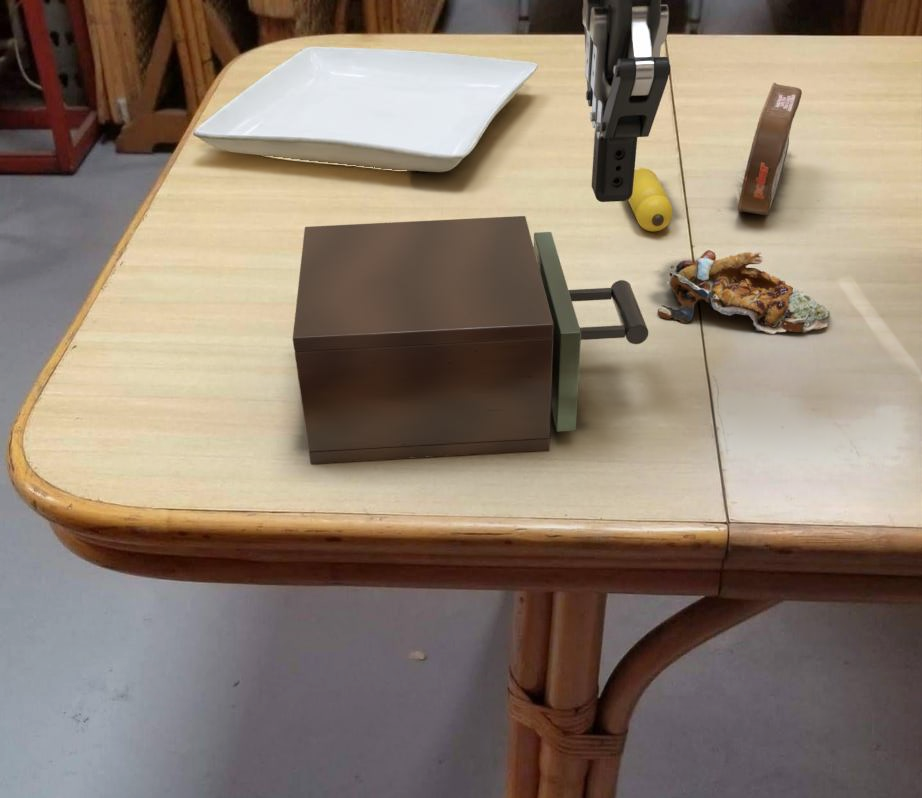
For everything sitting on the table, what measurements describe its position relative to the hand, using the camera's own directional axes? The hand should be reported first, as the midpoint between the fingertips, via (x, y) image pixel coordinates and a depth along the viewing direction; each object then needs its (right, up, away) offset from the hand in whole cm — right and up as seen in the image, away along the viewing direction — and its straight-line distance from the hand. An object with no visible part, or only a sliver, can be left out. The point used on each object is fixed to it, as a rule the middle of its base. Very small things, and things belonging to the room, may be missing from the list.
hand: (611, 196), depth 64 cm
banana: (+7, +8, +28) cm, 30 cm away
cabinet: (-11, -11, +8) cm, 17 cm away
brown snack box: (+18, +10, +31) cm, 37 cm away
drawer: (-7, -9, +8) cm, 14 cm away
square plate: (-17, +22, +46) cm, 54 cm away
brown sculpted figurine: (+12, -3, +16) cm, 20 cm away
